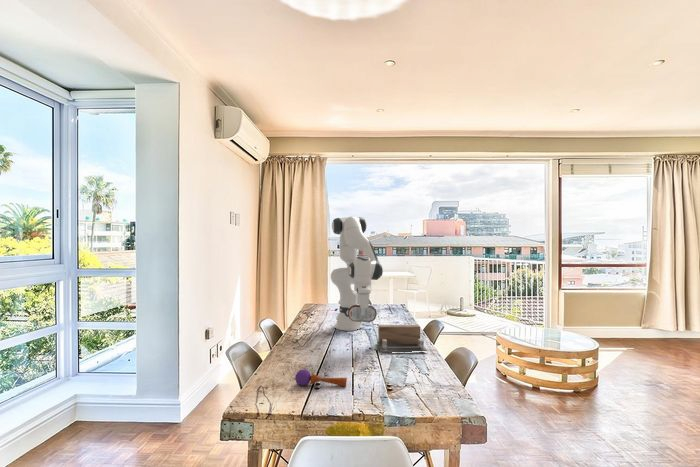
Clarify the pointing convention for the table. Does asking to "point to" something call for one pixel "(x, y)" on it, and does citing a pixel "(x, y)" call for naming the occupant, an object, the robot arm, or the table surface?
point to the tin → (356, 315)
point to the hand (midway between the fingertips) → (362, 314)
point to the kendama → (316, 379)
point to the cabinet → (399, 338)
